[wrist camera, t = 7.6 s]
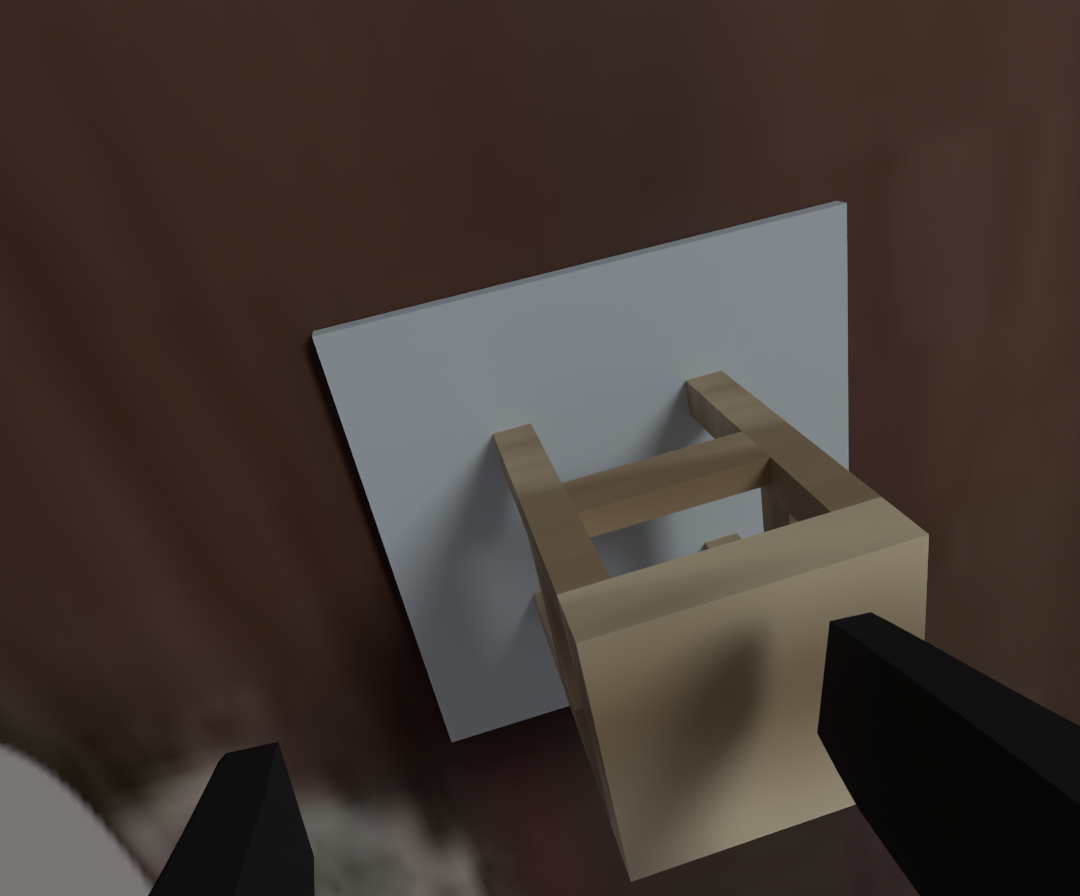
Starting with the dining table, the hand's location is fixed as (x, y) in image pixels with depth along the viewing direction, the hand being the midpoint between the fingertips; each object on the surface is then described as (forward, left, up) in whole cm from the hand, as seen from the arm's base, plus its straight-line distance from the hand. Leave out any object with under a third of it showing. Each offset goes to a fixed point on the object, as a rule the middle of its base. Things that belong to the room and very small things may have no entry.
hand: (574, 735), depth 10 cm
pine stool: (+1, -4, -9) cm, 10 cm away
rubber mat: (+1, -4, -9) cm, 10 cm away
